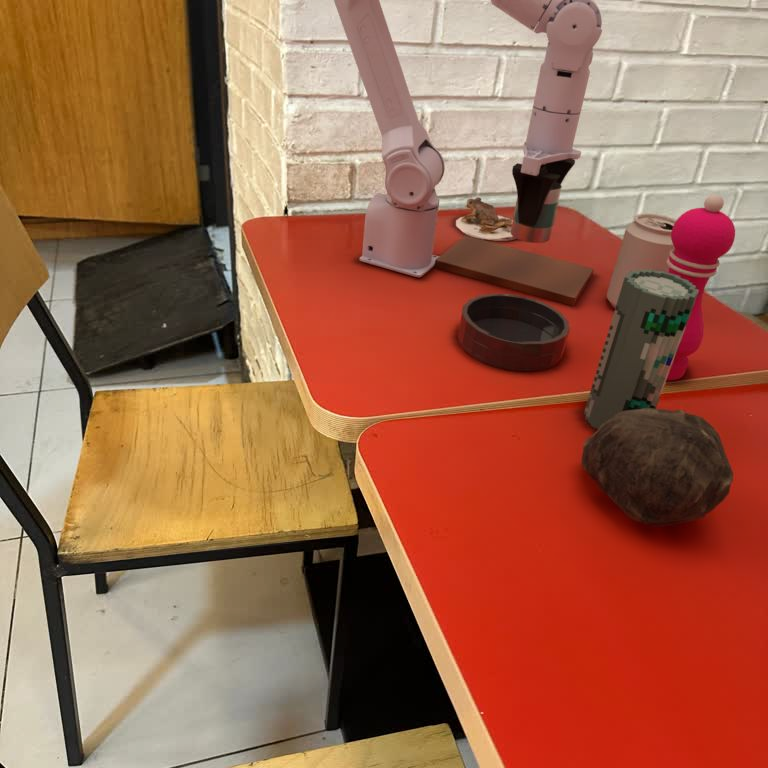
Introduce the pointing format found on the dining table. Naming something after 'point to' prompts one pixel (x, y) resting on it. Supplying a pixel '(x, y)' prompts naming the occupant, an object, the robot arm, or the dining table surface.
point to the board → (516, 269)
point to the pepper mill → (697, 265)
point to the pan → (513, 332)
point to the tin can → (544, 223)
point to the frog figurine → (485, 222)
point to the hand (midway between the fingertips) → (533, 218)
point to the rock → (659, 465)
